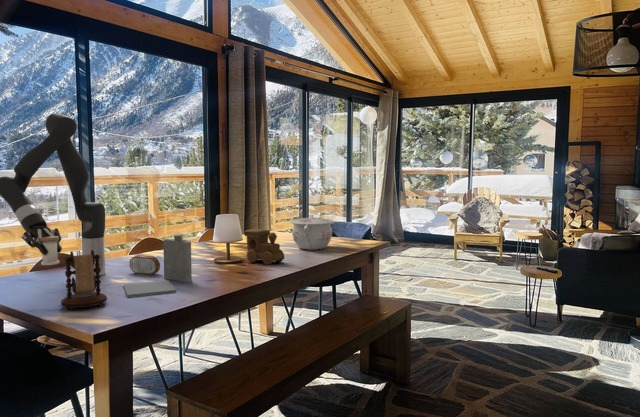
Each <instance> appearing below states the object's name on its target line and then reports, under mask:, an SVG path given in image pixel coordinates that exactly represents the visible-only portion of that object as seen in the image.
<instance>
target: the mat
mask: <svg viewBox="0 0 640 417" xmlns="http://www.w3.org/2000/svg"><path fill="white" fill-rule="evenodd" d="M122 286H123V290H124V292H125V294H126V298H135V297H144V296H145V297H146V296H153V295H154V296H155V295H163V294H171V293H176V292H177V290H176V288H175V287H174V286H173V284H172V283H171V282H170V280H169V279H166V280H157V281H156V280H155V281H148V282H137V283H135V282H134V283H126V284H123V285H122Z"/></svg>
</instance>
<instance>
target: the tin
mask: <svg viewBox="0 0 640 417" xmlns="http://www.w3.org/2000/svg"><path fill="white" fill-rule="evenodd" d="M129 268H130V270H131V272H133V273H134V274H141V275H143V274H144V275H155V274H157V273H158V272H160V270H161V264H160V261H159V259H158V258H157V257H156V256H154V255H153V256H152V255H142V254H138V255H135V256H133V257H131V259H129Z"/></svg>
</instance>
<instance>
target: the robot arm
mask: <svg viewBox="0 0 640 417" xmlns="http://www.w3.org/2000/svg"><path fill="white" fill-rule="evenodd" d="M45 129H46V132H47V133H48V136H47V137H45V139H44V140H43V141H42V142H40V143H39V144H38V145H36V146H34V147H33V148H31V149H30V150H29V151H28V152H26V154H24V155H23V156H22V157H21V159H20V160H19V161H17V163H16V165H15V166H14V167H13V171H14V174H15V175H14V178H13V177H11V176H6V175H5V176H2V177H0V196H1V198H3V200H4V201H5V202H6V203H7V205H9V207H10V208H11V210H12V211H13V213H14V214H15V216H16V218H17V220H18V222H19V224H20V226H22V229H23V230H24V233H23V234H22V236H21V238H22V240H23V241H24V242H25V243H26V244H27V245H28V246H29V247H30V248H32V249H34V248H37V249H38V251H39V252H40V253H41V255H42V254H43V255H47V253H48V250H47V249H46V247H45V246H44V245H43V244H42V242H40V239H39V238H42V237H48V236H59V240H58V241H57V254H60V253H61V252H62V250H63V247H62V246H61V244H60V242H61V241H62V239H63V238H62V236H61V234H60V231H59V229H58V228H54V229H51V228H50V227H48V225H47V221H46V220H45V218H44V217H43V215H42V214H41V212H40V211H39V210H38V208H37V207H36V206H35V205H34V203H33V202H32V201H31V199H30V198H29V197H28V196H27V195H26V194H25V193H26V190H27V188H28V186H29V184H30V182H31V180H32V177H33V176H34V175H35V174H36V173H37V172H38V171H39V169H40V168H41V167H42V166H43V165H44V164H45V162H46V161H47V160H48V159H49V158H50V156H52V155H53V154H54V153H55V152H56V154H57V156H58V159H59V162H60V166H61V169H62V171H63V174H64V177H65V179H66V182H67V185H68V187H69V190H70V193H71V197H72V202H73V205H74V210H75V212H76V216H77V218H78V220H79V221H80V222H82V223H91V227H89V228H87V229H86V230H83V231H82V232H81V244H82V248H81V250H82V255H88V254H91V250H93V251H94V254H95V255H96V254H98V255H100V259H98V260H100V261H99V264H100V266H99V267H100V269H101V271H100V273H99V275H100V276H102V275H105V274H106V257H105V256H106V253H105V252H106V249H105V248H106V246H105V232H106V206H104V204H103V203H102V202H97V201H96V202H93V201H92V202H89V201H88V200H87V197H86V193H85V192H86V188H87V186H88V183H89V180H90V175H89V170H88V167H87V164H86V161H85V160H84V159H83V156H82V155H81V154H80V152H79V151H78V149H77V148H76V147H75V145H74V143H73V141H72V137H73V136H74V135H75V134H76V132H77V129H78V125H77V122H76V121H75V119H73V118H72V117H70V116H67V115H65V114H61V113H54V112H53V113H51V114H49V115H48V116H47V118H46V119H45ZM95 260H96V259H95ZM95 263H96V261H95ZM95 267H96V266H95V264H94V265H93V268H95ZM94 275H95V277H96V272H94Z"/></svg>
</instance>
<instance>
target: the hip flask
mask: <svg viewBox="0 0 640 417" xmlns="http://www.w3.org/2000/svg"><path fill="white" fill-rule="evenodd" d="M162 241H163V243H162V244H163V279H164V280H165V279H166V280H173V281H179V282H183V283H185V284H186V283H192V281H193V280H192V278H193V277H192V272H193V271H192V241H190V240H188V239H183V234H174V235H173V238H163V240H162Z"/></svg>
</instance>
